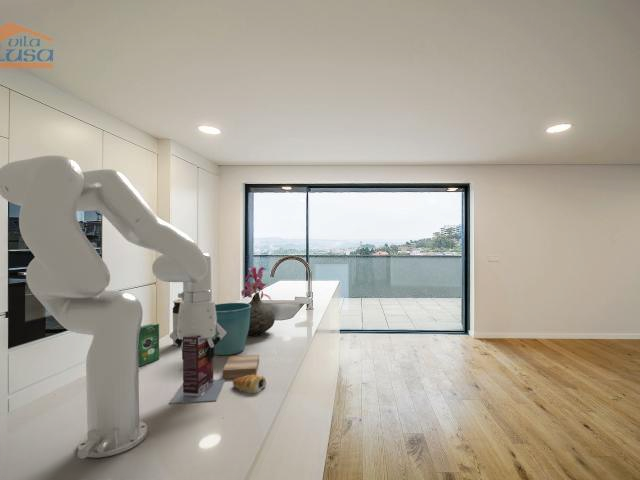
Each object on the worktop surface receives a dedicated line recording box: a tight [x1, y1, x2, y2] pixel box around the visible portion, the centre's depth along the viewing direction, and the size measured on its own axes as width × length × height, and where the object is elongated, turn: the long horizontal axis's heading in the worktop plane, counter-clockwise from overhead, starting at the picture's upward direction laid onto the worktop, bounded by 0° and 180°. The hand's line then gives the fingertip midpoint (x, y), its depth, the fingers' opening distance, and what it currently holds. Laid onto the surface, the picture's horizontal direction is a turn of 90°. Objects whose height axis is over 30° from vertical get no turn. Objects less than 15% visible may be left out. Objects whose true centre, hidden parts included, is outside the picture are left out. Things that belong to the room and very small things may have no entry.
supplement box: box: [182, 336, 214, 397], centre depth 99 cm, size 9×5×16 cm, turn 169°
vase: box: [240, 266, 276, 336], centre depth 159 cm, size 17×17×30 cm
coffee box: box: [138, 322, 160, 367], centre depth 123 cm, size 8×3×13 cm, turn 156°
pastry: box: [232, 375, 267, 394], centre depth 100 cm, size 9×7×4 cm
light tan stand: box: [222, 354, 260, 379], centre depth 114 cm, size 13×10×2 cm
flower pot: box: [214, 302, 251, 356], centre depth 135 cm, size 18×18×17 cm
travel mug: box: [172, 298, 183, 347], centre depth 146 cm, size 8×8×18 cm
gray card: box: [168, 378, 226, 405], centre depth 99 cm, size 14×12×1 cm
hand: (198, 360), depth 99 cm, fingers closed on supplement box, 5 cm apart
